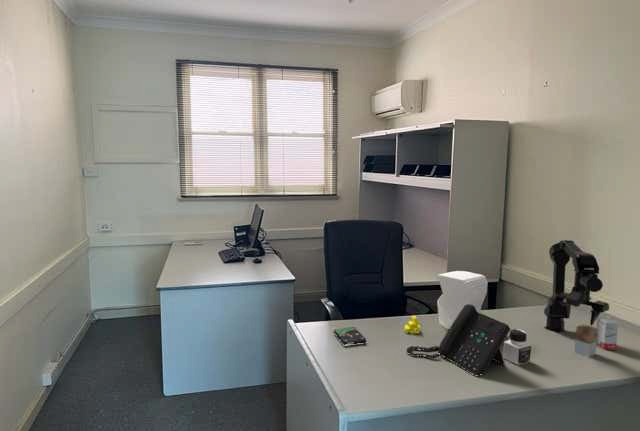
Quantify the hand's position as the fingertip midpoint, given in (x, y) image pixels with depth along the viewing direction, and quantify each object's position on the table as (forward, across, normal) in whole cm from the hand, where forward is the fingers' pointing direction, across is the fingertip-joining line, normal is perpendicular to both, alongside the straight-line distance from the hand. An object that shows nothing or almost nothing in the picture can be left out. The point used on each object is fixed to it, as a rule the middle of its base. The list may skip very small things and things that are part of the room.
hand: (579, 321), depth 177 cm
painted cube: (+13, +2, +2) cm, 13 cm away
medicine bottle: (+13, -9, -28) cm, 32 cm away
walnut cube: (+8, +2, +2) cm, 8 cm away
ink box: (+13, +4, +17) cm, 22 cm away
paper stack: (+13, -43, -17) cm, 48 cm away
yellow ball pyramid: (+13, -53, -42) cm, 68 cm away
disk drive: (+14, -62, -71) cm, 95 cm away
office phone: (+13, -23, -48) cm, 55 cm away
